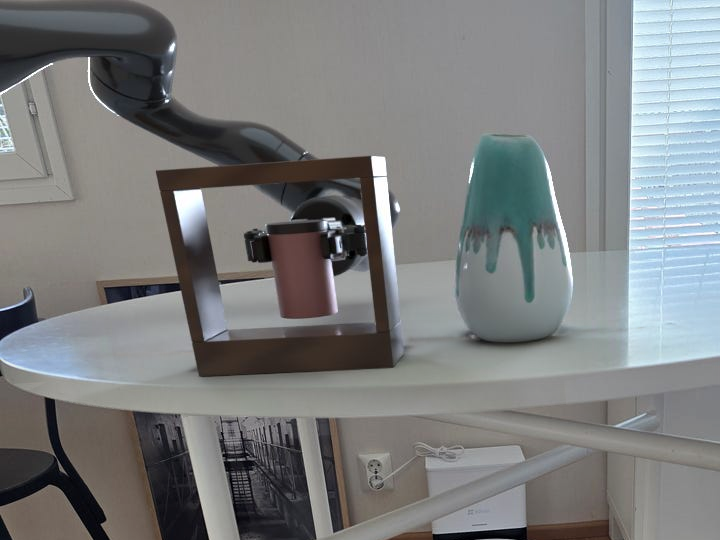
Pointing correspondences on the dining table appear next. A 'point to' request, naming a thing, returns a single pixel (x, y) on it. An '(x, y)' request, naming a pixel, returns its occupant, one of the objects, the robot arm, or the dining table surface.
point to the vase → (511, 244)
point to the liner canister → (301, 269)
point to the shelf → (281, 344)
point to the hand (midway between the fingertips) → (292, 248)
